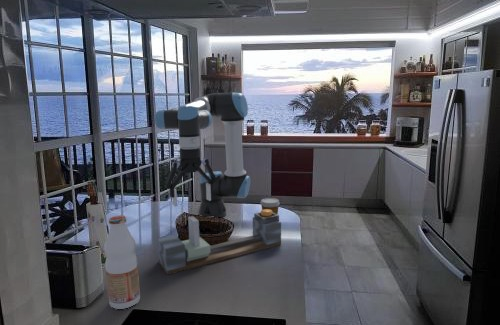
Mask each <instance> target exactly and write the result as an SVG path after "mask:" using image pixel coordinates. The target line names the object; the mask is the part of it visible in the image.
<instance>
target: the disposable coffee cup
mask: <svg viewBox="0 0 500 325" xmlns="http://www.w3.org/2000/svg"><path fill="white" fill-rule="evenodd" d="M280 204H281V203H280V200H279V199H278V198H275V197H266V198H263V199H261V200H260V205H261V210H264V209H269V210H272V212H273V213H275V214H277V215H279V214H278V213H279V206H280Z"/></svg>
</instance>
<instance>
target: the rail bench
mask: <svg viewBox="0 0 500 325" xmlns="http://www.w3.org/2000/svg"><path fill="white" fill-rule="evenodd" d="M253 215H254V216H253V217H252V235H250V236H245V237H240V238H238V239H233V240H228V241H224V242H220V243H215V244H212V245H210V252H211V253H209V256H207V257H203V258H199V259H195V260H191V261H188V262H187V261H186V256H185V244H184V243H183V242H182V241H183V240H181V239H180V238H179V237H178V236H177V235H176V234H174V233H173V234H168V235H163V236H159V237H156V245H157V246H156V247H157V259H158V261H159V262H160V263H159V262H158V263H159V265H160V264H161V265H162V266H161V265H160V266H161V268H162V269H163V268H164V269H165V270H164V269H163V270H164V272H165V271H166V272H167V273H166V272H165V273H166V274H167V275H168V274H169V275H171V274H170V273H172V274H175V273H174V272H176V273H179V272H178V271H180V272H183V271H182V270H184V271H186V269H187V270H190V268H191V269H194V268H199V267H202V266H205V265H210V264H214V263H217V262H221V261H224V260H228V259H231V258H235V257H239V256H244V255H246V254H247V255H248V254H252V253H254V252H258V251H261V250H262V251H263V250H265V249H270V248H273V247H278V246H281V245H282V222H281V221H280V215H279V214H278V215H277V214H275V213H273V212H272V216H269V217H265V218H264V217H262V216H261V211H260V212H255V213H253Z"/></svg>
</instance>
